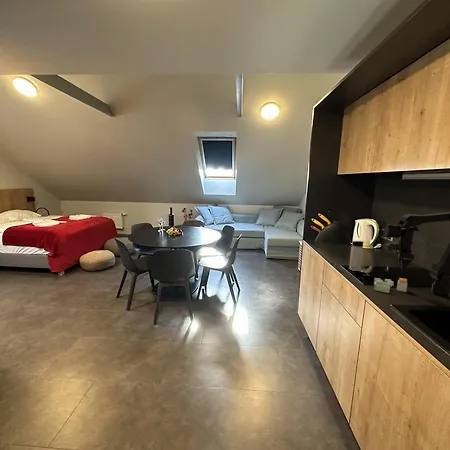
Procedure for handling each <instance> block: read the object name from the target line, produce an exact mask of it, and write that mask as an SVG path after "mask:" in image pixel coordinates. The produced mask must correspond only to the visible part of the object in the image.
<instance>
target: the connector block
mask: <svg viewBox="0 0 450 450" xmlns="http://www.w3.org/2000/svg"><path fill="white" fill-rule="evenodd" d="M407 288H408V279H407V278H401V277H399V278H398V280H397V285H396V291H400V292H404V293H407Z"/></svg>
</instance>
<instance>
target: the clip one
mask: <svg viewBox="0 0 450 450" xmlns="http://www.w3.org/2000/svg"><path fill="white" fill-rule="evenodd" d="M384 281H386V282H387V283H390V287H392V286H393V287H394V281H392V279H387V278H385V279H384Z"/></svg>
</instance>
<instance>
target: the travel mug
mask: <svg viewBox="0 0 450 450" xmlns="http://www.w3.org/2000/svg"><path fill="white" fill-rule="evenodd" d="M351 241H352V240H351ZM351 243H352V244H351V251H350V258H349V259H350V260H349V267H348V270H349V269H350V270H352V271H360V272H361V267H362V266H361V265H362V256H363V249H364V248H363V247H364V241H362V240H355V241H354V240H353V241H352V242H351Z"/></svg>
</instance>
